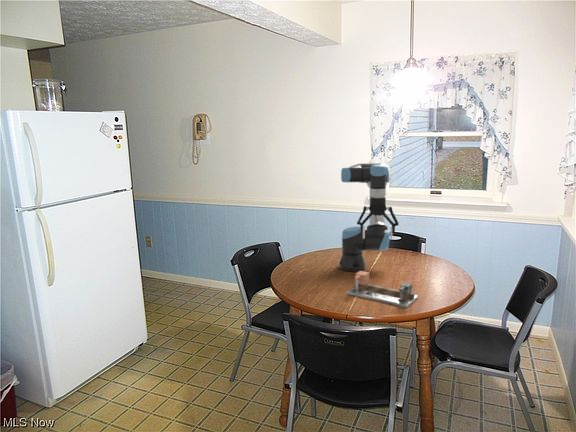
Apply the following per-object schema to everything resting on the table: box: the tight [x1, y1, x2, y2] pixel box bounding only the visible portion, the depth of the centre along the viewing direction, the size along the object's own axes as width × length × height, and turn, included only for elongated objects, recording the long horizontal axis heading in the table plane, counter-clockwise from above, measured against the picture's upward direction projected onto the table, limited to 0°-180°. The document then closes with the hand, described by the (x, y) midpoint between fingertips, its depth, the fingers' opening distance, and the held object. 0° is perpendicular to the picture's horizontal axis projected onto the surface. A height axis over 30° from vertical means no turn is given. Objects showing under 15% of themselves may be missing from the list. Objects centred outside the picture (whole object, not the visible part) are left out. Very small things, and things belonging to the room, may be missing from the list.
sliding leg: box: [354, 270, 370, 290], centre depth 208 cm, size 5×9×7 cm, turn 143°
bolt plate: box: [346, 285, 419, 309], centre depth 202 cm, size 30×13×1 cm, turn 53°
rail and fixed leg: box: [358, 281, 416, 301], centre depth 201 cm, size 29×9×6 cm, turn 53°
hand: (377, 238), depth 213 cm, fingers open, 13 cm apart
